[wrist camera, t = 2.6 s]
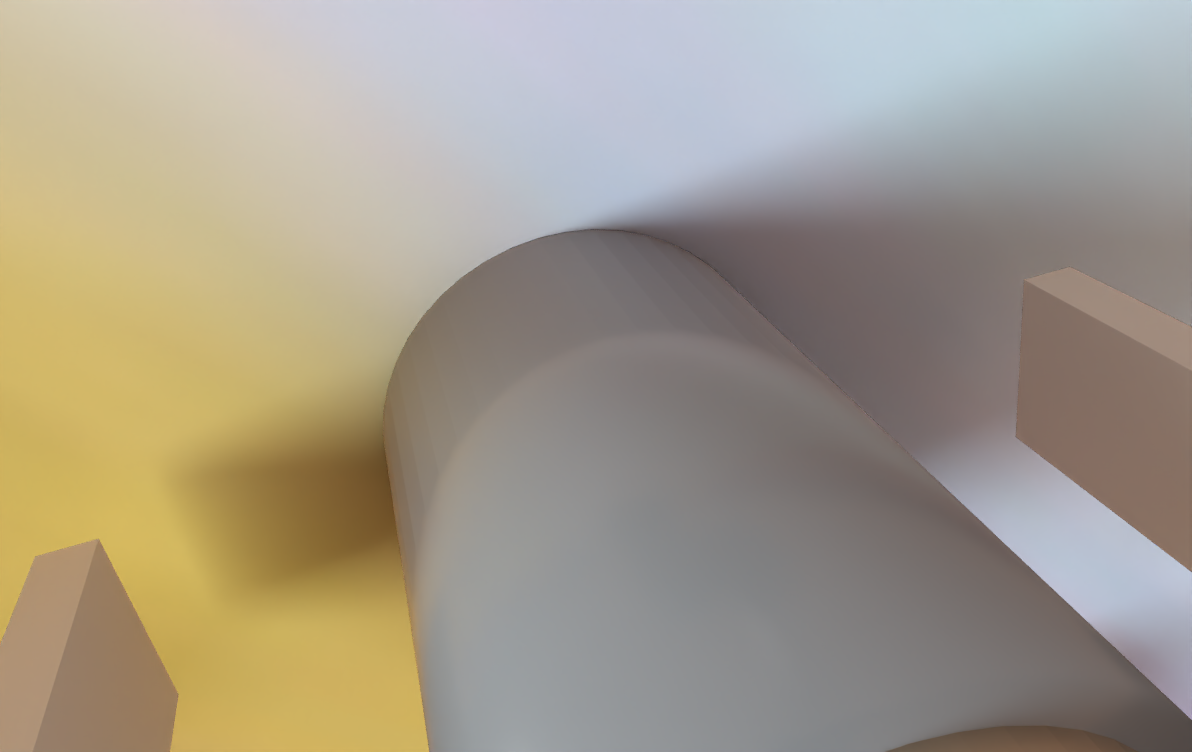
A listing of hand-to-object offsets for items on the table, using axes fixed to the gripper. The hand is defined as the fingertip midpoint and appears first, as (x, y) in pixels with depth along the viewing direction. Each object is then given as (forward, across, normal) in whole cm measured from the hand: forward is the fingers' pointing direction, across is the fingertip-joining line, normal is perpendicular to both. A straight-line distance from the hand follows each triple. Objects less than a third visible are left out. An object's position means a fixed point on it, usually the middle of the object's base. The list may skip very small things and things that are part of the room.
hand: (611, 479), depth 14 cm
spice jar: (+2, 0, 0) cm, 2 cm away
